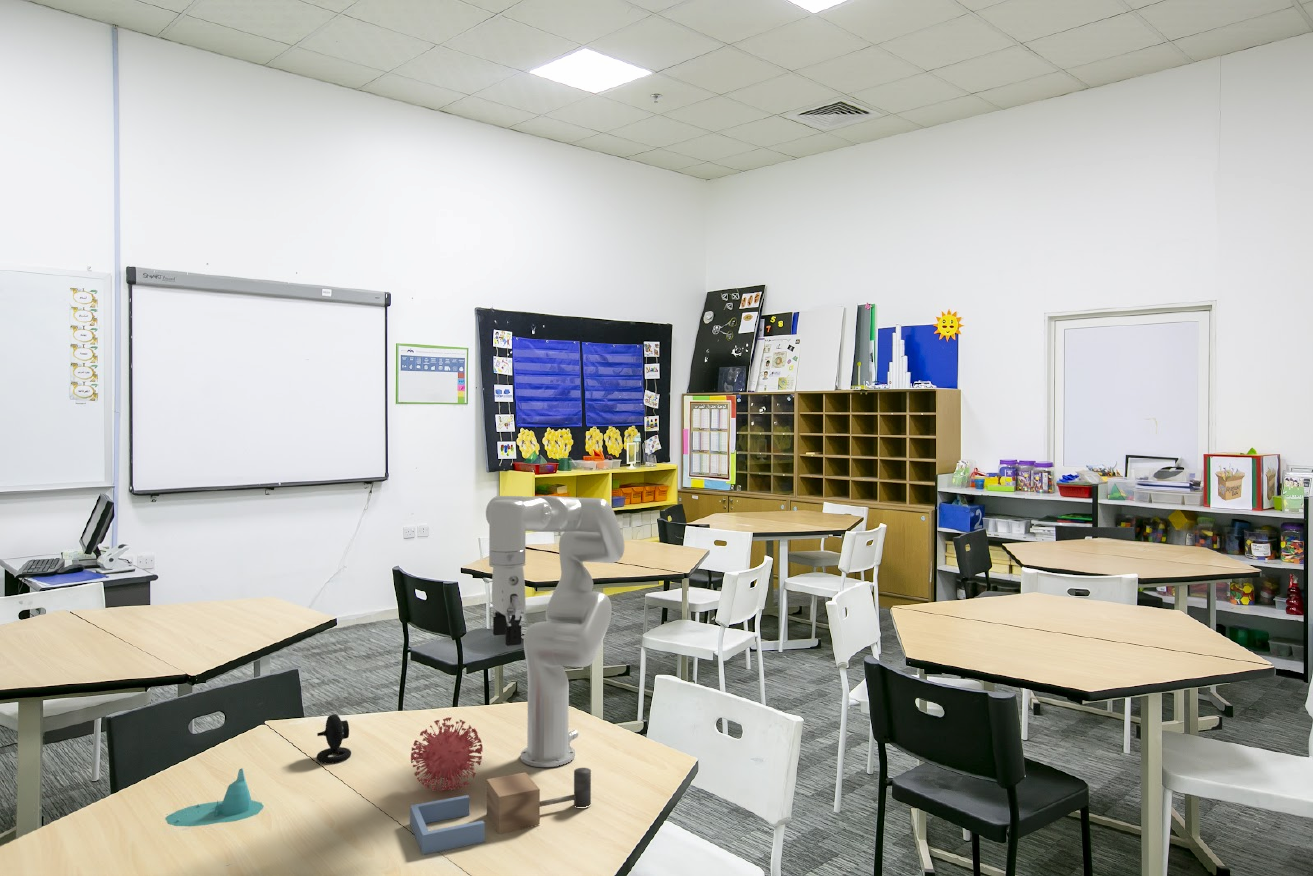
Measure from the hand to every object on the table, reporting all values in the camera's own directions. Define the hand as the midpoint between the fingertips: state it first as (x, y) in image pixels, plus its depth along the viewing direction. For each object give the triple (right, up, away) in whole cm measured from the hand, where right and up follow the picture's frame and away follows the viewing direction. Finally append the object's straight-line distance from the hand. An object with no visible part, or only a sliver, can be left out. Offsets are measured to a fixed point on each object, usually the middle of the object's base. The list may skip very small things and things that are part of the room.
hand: (506, 639), depth 177 cm
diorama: (-56, -33, -10) cm, 66 cm away
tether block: (+9, -32, -9) cm, 35 cm away
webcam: (-44, -32, +19) cm, 57 cm away
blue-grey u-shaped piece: (-8, -32, -18) cm, 38 cm away
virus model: (-13, -32, +2) cm, 35 cm away
